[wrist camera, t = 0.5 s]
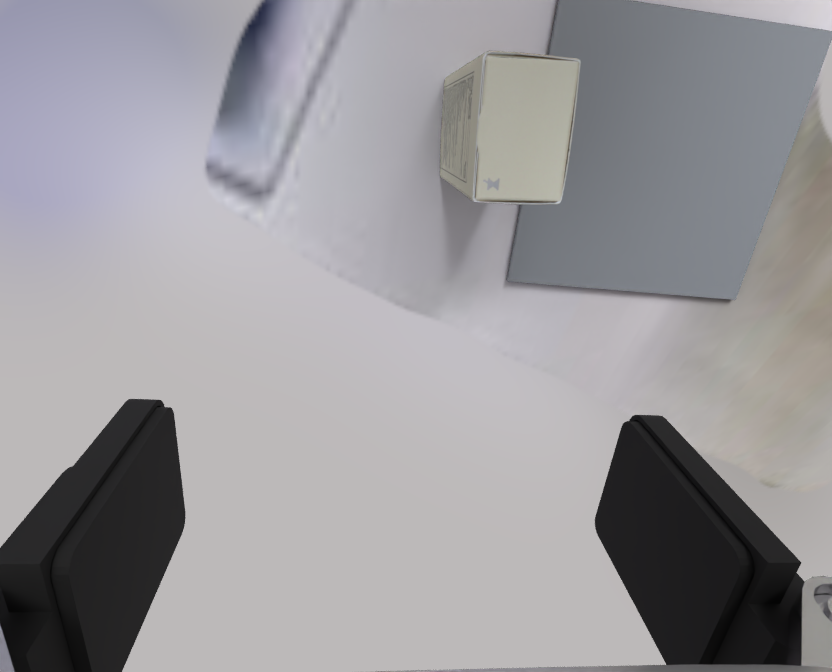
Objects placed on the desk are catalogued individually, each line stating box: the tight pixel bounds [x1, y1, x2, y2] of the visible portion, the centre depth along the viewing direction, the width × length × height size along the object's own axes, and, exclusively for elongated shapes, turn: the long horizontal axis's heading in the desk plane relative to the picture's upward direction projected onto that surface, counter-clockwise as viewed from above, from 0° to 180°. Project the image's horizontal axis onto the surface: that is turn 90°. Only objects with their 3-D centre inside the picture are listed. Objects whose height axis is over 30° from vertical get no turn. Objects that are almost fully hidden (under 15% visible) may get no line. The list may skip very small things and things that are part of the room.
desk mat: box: [507, 0, 832, 300], centre depth 35 cm, size 18×18×1 cm
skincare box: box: [440, 51, 581, 205], centre depth 28 cm, size 6×4×12 cm
